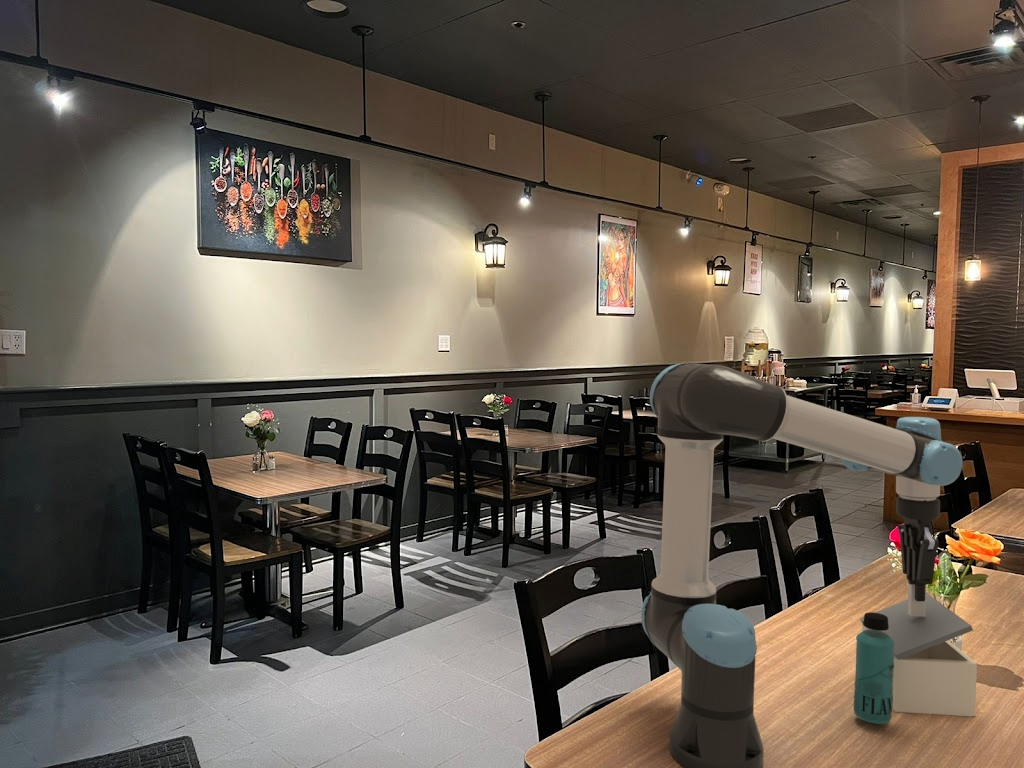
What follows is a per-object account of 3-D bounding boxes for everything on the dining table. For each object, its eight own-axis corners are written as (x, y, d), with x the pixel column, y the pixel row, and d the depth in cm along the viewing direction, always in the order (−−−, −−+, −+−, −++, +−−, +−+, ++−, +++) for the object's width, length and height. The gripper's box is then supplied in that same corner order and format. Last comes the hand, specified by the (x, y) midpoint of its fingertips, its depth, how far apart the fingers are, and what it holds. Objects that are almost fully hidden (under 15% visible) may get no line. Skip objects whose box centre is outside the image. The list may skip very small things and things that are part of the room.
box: (895, 711, 139) (897, 659, 139) (860, 670, 157) (862, 623, 157) (974, 716, 138) (977, 663, 137) (930, 673, 156) (932, 627, 155)
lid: (898, 659, 138) (895, 655, 138) (861, 622, 157) (859, 618, 157) (973, 630, 137) (971, 625, 137) (927, 596, 155) (925, 592, 155)
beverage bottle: (855, 729, 133) (859, 619, 132) (849, 712, 139) (853, 606, 138) (895, 735, 131) (900, 623, 130) (887, 717, 137) (892, 610, 136)
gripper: (954, 503, 138) (952, 628, 140) (923, 489, 152) (922, 603, 153) (912, 503, 139) (910, 627, 141) (884, 489, 152) (883, 603, 154)
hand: (916, 614), depth 147 cm, fingers closed
